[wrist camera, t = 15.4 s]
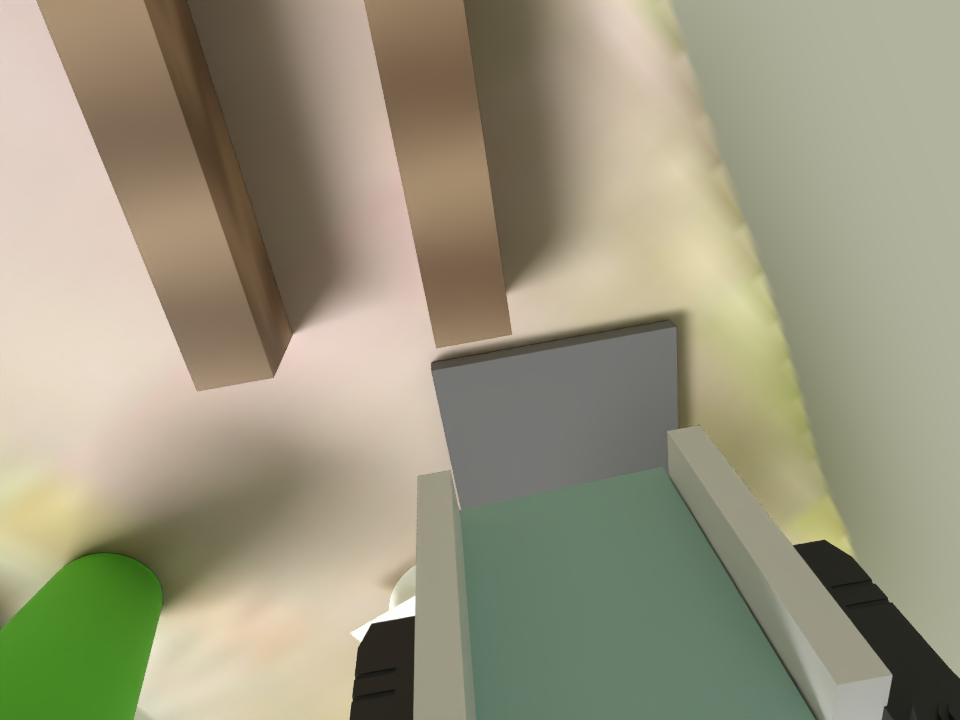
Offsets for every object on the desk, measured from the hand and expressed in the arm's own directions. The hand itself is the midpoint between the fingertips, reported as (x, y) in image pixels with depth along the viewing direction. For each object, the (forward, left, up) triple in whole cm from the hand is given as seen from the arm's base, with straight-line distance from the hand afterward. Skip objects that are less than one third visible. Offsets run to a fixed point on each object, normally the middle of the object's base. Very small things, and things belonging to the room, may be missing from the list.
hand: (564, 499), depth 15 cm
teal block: (+2, 0, 0) cm, 3 cm away
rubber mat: (+8, +2, -14) cm, 16 cm away
